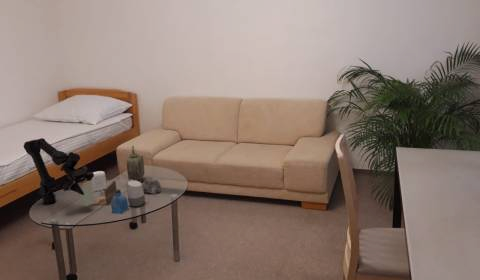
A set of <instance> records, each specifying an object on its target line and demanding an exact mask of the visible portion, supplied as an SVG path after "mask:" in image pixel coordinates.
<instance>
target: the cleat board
mask: <svg viewBox="0 0 480 280" xmlns="http://www.w3.org/2000/svg"><path fill="white" fill-rule="evenodd" d="M116 182H117V181H116V180H112V181H111V182H110V183H109V184H108V185H107V187H106V188H105V189H104V195H105V196H101V195H100V196H99V197H98V198H97V199H96V200H95V203H92V204H91V205H92V206H110V205H111V200H112V198H113V197H114V196H116V195H115V190H117V184H116Z"/></svg>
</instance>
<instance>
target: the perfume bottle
mask: <svg viewBox="0 0 480 280" xmlns="http://www.w3.org/2000/svg"><path fill="white" fill-rule="evenodd" d="M115 195H116V196H114V197H113V198H112V200H111V203H110V206H111V213H115V214H123V213H125V212H126V211H127V210H129V202H128V197H126V196H125V195H123V194H122V192H121V188H120V189H118V188H117V189H116V190H115Z"/></svg>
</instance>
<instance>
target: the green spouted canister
mask: <svg viewBox="0 0 480 280" xmlns="http://www.w3.org/2000/svg"><path fill="white" fill-rule="evenodd" d="M131 152H132V153H131ZM131 152H130V154H129V155H128V156H127V158H126V163H125V164H126V173H127V178H128V180H129V181H132V180H134V181H136V180H142V178H143V177H144V176H145V163H144V157H143V155H140V154H138V153H136V152H135V146H134V145H132V146H131Z"/></svg>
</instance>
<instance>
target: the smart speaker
mask: <svg viewBox="0 0 480 280" xmlns="http://www.w3.org/2000/svg"><path fill="white" fill-rule="evenodd" d="M127 202H128V205H129V206H131V207H133V208H134V207H135V208H136V207H141V206H142V205H144V204H145V202H146V197H145V192H143V188H142V182H139V181H138V180H133V179H131V180H129V181H128V182H127Z"/></svg>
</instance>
